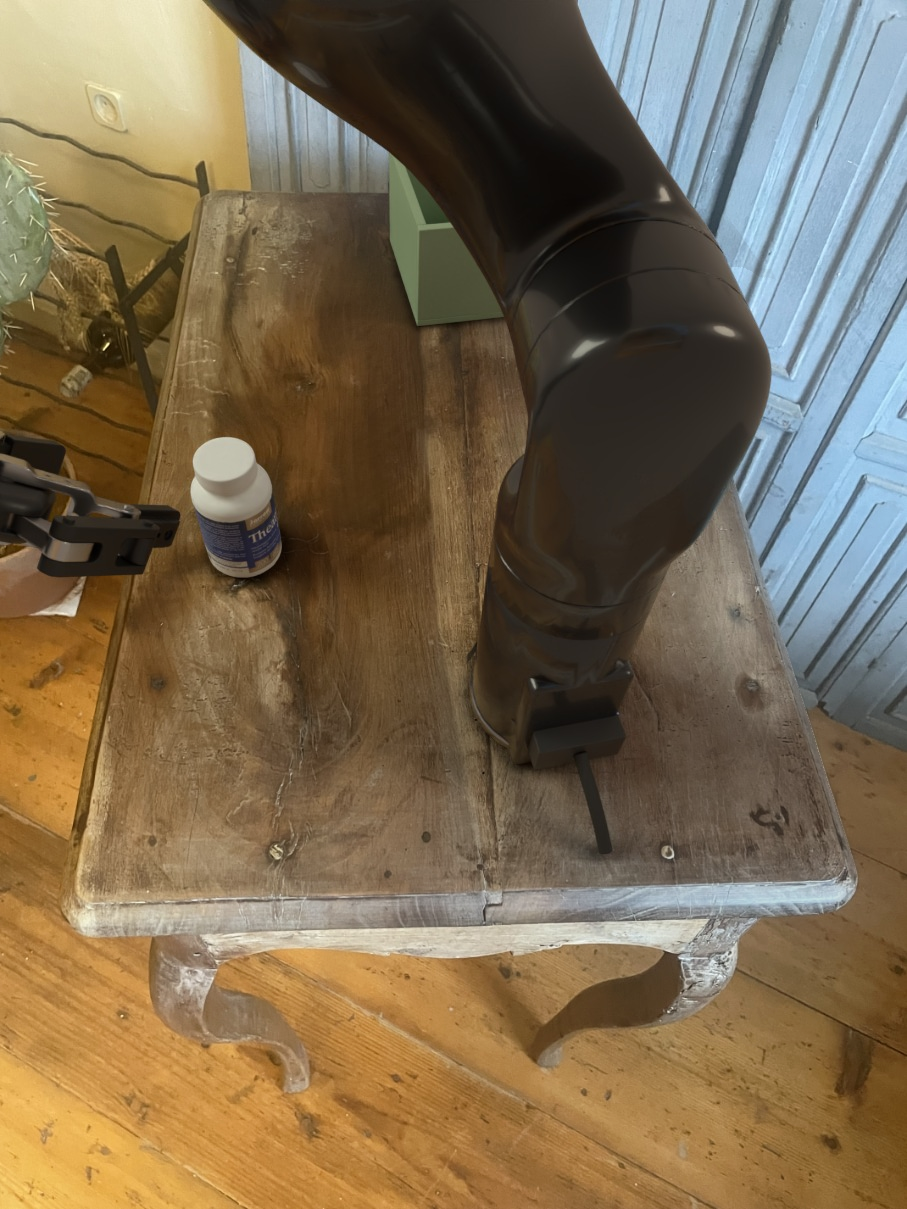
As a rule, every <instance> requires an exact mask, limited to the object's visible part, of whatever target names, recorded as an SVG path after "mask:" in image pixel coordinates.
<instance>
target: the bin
mask: <svg viewBox="0 0 907 1209" xmlns="http://www.w3.org/2000/svg"><path fill="white" fill-rule="evenodd" d="M388 175H389V176H388V177H389V178H388V184H389V186H388V188H389V189H388V190H389V192H388V194H389V195H388V196H389V197H388V198H389V242H390V245H391V248H392V252H393V254H394V258H395V260H396V265H397V266H398V267H397V268H398V271H399V274H400V276H401V279H402V283H403V286H404V289H405V292H406V295H407V298H408V301H409V304H410V308H411V311H412V313H413V317H414V320H415V323H416V324H415V325H416V326H417V327H423V326H432V325H433V326H434V325H443V324H451V323H452V324H453V323H460V322H469V321H478V320H480V321H481V320H488V319H498V318H504V315H503V313H502V311H501V308H500V306H499V304H498V302H497V300H496V298H495V296H494V294H493V292H492V290H491V288H490V287H489V285H488V283H487V281H486V279H485V277H484V276H483V274H482V272H481V271H480V269H479V267H478V266H477V264H476V262H475V260H474V259H473V257H472V255H471V254H470V252H469V251H468V249H467V247H466V246H465V244H464V243H463V241H462V240H461V238H460V236H459V235H458V233H457V232H456V230H455V229H454V227H453V226H452V224H451V223H450V222H449V220H448V219H447V217H446V216H445V214H444V213H443V211H442V210H441V208H440V207H439V206H438V204H437V203H436V202H435V200H434V199H433V198H432V196H431V195H430V194H429V193H428V191H427V190H426V189H425V187H424V186H423V185H422V184H421V183H420V182H419V181H418V180H417V178H416V177H415V176H414V175H413V174H412V173H411V172H410V171H409V170H408V169H407V168H406V167H405V166H404V165H403V164H402V163H401V162H399V161H398V160H397V159H396V158H395V157H394V156H393V155H392V154H391V153H389V152H388Z"/></svg>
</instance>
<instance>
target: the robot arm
mask: <svg viewBox="0 0 907 1209" xmlns="http://www.w3.org/2000/svg"><path fill="white" fill-rule="evenodd" d="M202 2H203V3H204V4H205V5H206V6H207V7H208V8H209V9H210V10H211V12H213V14H214V15H216V17H217V18H218V19H219V21H221V22H222V23H223V25H225V26H226V28H228V29H229V30H230V31H231V32H232V34H233V35H235V36H236V37H237V38H238V40H239V41H241V43H243V45H245V46H246V47H247V48H248V49H249V50H250V52H252V53H253V54H254V55H255V56H257V57H258V58H259V59H261V61H262V62H264V63H265V64H266V65H267V66H268V67H270V68H271V69H273V70H274V71H275V72H276V73H277V74H279V75H280V76H281V77H282V78H283V79H285V80H286V81H287V82H288V83H290V84H291V85H293V86H294V87H295V88H297V89H299V90H300V91H301V92H303V93H304V94H305V95H306V96H308V97H309V98H310V99H312V100H314V101H315V102H316V103H318V104H319V105H321V106H322V107H324V108H325V110H328V112H331V113H332V114H333V115H335V116H336V117H338V118H339V119H341V120H342V121H344V122H345V123H347V124H348V125H350V126H351V127H352V128H354V129H356V130H357V131H359V132H360V133H361V134H363V135H364V136H366V137H368V138H369V139H370V140H371V141H373V142H374V143H376V145H379V146H380V147H381V148H383V149H384V150H385V151H387V152H388V154H389V153H391V154H392V155H393V156H394V157H395V158H396V159H397V160H398V161H399V162H401V163H402V164H403V165H404V166H405V167H406V168H407V169H408V170H409V171H410V172H411V173H412V174H413V175H414V176H415V177H416V178H417V180H418V181H419V182H420V183H421V184H422V185H423V186H424V187H425V189H426V190H427V191H428V193H429V194H430V195H431V196H432V198H433V199H434V200H435V202H436V203H437V204H438V206H439V207H440V208H441V210H442V211H443V213H444V214H445V216H446V217H447V219H448V220H449V222H450V223H451V224H452V226H453V227H454V229H455V230H456V232H457V233H458V235H459V236H460V238H461V240H462V241H463V243H464V244H465V246H466V247H467V249H468V251H469V252H470V254H471V255H472V257H473V259H474V260H475V262H476V264H477V266H478V267H479V269H480V271H481V272H482V274H483V276H484V277H485V279H486V281H487V283H488V285H489V287H490V288H491V290H492V292H493V294H494V296H495V298H496V300H497V302H498V304H499V306H500V308H501V311H502V313H503V315H504V317H503V318H504V320H505V324H506V327H507V330H508V333H509V337H510V341H511V344H512V350H513V354H514V359H515V363H516V369H517V374H518V377H519V382H520V386H521V391H522V395H523V399H524V403H525V407H526V413H527V430H526V440H525V448H524V453H523V454H522V455H520V456H519V457H518V458H517V459H516V460H515V461H514V462H513V463H512V465H511V466H510V467H509V468H508V470H507V472H506V473H505V475H504V477H503V478H502V481H501V484H500V485H499V486H500V487H499V490H498V492H497V498H496V506H495V512H494V520H493V529H492V534H491V535H492V536H491V542H490V543H491V544H490V550H489V554H488V555H489V556H488V562H487V570H486V571H487V572H486V577H485V584H484V592H483V597H482V598H483V599H482V605H481V612H480V621H479V628H478V635H477V641H476V642H475V643H474V645H473V646H472V647H471V649H470V650H469V652H468V654H467V656H466V664H465V665H466V666H467V665H468V664H469V662H470V661H471V659H472V658H473V657H474V655H475V658H474V667H473V668H472V669H473V670H472V673H471V678H470V686H469V696H470V697H469V698H470V705H471V708H472V711H473V714H474V716H475V719H476V720H477V722H478V723H479V725H480V726H481V728H482V729H483V730H484V732H486V735H488V736H489V737H490V738H491V739H492V740H493V741H495V742H496V743H497V744H499V745H500V746H502V747H503V748H505V749H507V751H508V753H509V755H510V759H511V762H512V763H513V764H515V765H521V764H527V763H531V764H532V768H533V770H534V771H538V770H539V771H540V770H544V769H549V768H554V767H558V766H565V765H568V764H575V766H576V771H577V774H578V776H579V777H578V778H579V781H580V783H581V786H582V791H583V794H584V797H585V800H586V801H585V802H586V804H587V808H588V812H589V815H590V819H591V823H592V827H593V831H594V836H595V841H596V845H597V850H598V854H600V855H605V856H606V855H609V854H611V853H613V845H612V841H611V836H610V831H609V826H608V822H607V818H606V814H605V810H604V807H603V803H602V799H601V796H600V792H599V788H598V785H597V782H596V778H595V776H594V772H593V768H592V766H591V762H590V760H595V759H600V758H604V757H609V756H614V755H618V754H619V753H620V750H621V748H622V747H623V744H624V743H625V740H626V738H627V734H626V731H625V729H624V726H623V723H622V721H621V718H620V716H619V711H620V709H621V707H622V705H623V703H624V701H625V698H626V696H627V694H628V691H629V689H630V687H631V684H632V682H633V681H634V679H635V672H634V669H633V667H632V665H631V662H630V660H631V658H632V656H633V653H634V651H635V649H636V646H637V643H638V641H639V639H640V636H641V634H642V632H643V630H644V627H645V625H646V622H647V620H648V617H649V616H650V613H651V611H652V608H653V606H654V604H655V601H656V600H657V597H658V595H659V593H660V590H661V588H662V586H663V582H664V580H665V578H666V576H667V574H668V571H669V569H670V567H671V566H672V563H673V562H674V561H676V560H677V559H679V557H681V556H682V555H683V554H684V553H686V551H687V550H689V549H690V547H692V546H693V544H694V543H695V542H696V541H697V540H698V539H699V538H700V537H701V535H702V534H703V532H704V531H705V529H706V528H707V526H708V524H709V523H710V522H711V519H712V517H713V516H714V514H715V512H716V510H717V508H718V506H719V504H720V502H721V501H722V499H723V497H724V495H725V493H726V492H727V490H728V488H729V486H730V484H731V482H732V481H733V479H734V478H735V475H736V473H737V471H738V469H739V467H740V465H741V464H742V462H743V460H744V458H745V456H746V455H747V452H748V451H749V449H750V446H751V445H752V443H753V441H754V440H755V439H754V438H755V437H756V434H757V432H758V429H759V427H760V425H761V423H762V421H763V417H764V413H765V412H766V408H767V405H768V400H769V396H770V391H771V384H772V375H773V374H772V372H773V370H772V359H771V356H770V352H769V348H768V345H767V342H766V341H765V337H764V336H763V334H762V331H761V330H760V327H759V325H758V322H757V321H756V318H755V316H754V314H753V312H752V310H751V308H750V306H749V304H748V301H747V300H746V298H745V295H744V294H743V291H742V289H741V287H740V285H739V283H738V281H737V278H736V277H735V274H734V272H733V270H732V268H731V266H730V264H729V261H728V259H727V257H726V254H725V253H724V251H723V249H722V247H721V245H720V244H719V241H718V240H717V238H716V237H715V235H714V234H713V233H712V231H711V229H710V227H709V226H708V225H707V223H706V221H704V219H703V218H702V216H701V215H700V214H699V212H698V211H697V210H696V208H695V206H693V204H692V203H691V201H690V200H689V198H688V197H687V196H686V194H685V193H684V190H682V188H681V187H680V185H679V184H678V182H677V181H676V180H675V178H674V177H673V175H672V174H671V172H670V171H669V170H668V167H667V166H666V165H665V163H664V162H663V160H662V159H661V157H660V156H659V154H658V153H657V151H656V150H655V149H654V147H653V145H652V144H651V143H650V140H649V139H648V137H647V135H646V134H645V133H644V131H643V129H642V128H641V126H640V125H639V123H638V121H637V120H636V118H635V117H634V115H633V113H632V111H631V110H630V108H629V107H628V105H627V103H626V102H625V100H624V99H623V97H622V95H621V93H620V92H619V90H618V89H617V87H616V85H615V83H614V81H613V79H612V77H611V76H610V74H609V71H608V70H607V69H606V67H605V65H604V63H603V61H602V59H601V57H600V55H599V53H598V51H597V49H596V47H595V45H594V42H593V40H592V38H591V36H590V34H589V31H588V28H587V26H586V23H585V21H584V18H583V15H582V12H581V9H580V6H579V5H578V0H202ZM66 453H67V449H66V447H65V446H64V445H63V444H61V443H59V442H58V441H55V440H53V439H43V438H36V437H28V436H20V435H11V434H6V433H5V432H4V431H3V430H0V546H3V547H4V546H10V545H12V544H13V545H21V546H24V547H29V548H34V549H37V550H39V551H40V552H41V554H40V557H39V559H38V562H37V565H36V570H38V572H40V573H42V574H44V575H46V576H48V577H52V578H82V577H83V578H84V577H86V578H87V577H111V576H112V577H113V576H114V577H115V576H137V575H138V576H139V575H140V576H141V575H144V573H145V571H146V568H147V565H148V563H149V559H150V557H151V554H152V551H153V549H162V548H169V547H171V546H173V542H174V541H175V538H176V534H177V532H178V529H179V527H180V524H181V521H180V520H181V511H179V510H177V509H175V508H174V507H172V506H170V505H169V504H144V503H143V504H140V503H124V502H123V503H122V502H119V501H116V500H112V499H108V498H104V497H100V496H98V495H95V494H94V492H93V491H92V488H91V486H90V485H89V484H88V483H87V482H84V481H81V480H77V479H74V478H70V477H66V476H63V475H59V474H60V471H61V469H62V465H63V463H64V459H65V457H66ZM56 494H61V495H65V496H69V497H70V501H69V504H68V508H67V510H66V513H65V515H62V514H61V515H59V514H58V515H56V514H55V515H54V516H53V518H52V521H50V520H49V519H50V517H51V513H52V510H53V508H54V505H55V502H56V496H57V495H56ZM94 513H97V514H100V515H104V516H105V517H102V516H90V515H91V514H94ZM106 516H108V517H106Z"/></svg>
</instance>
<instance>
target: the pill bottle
mask: <svg viewBox="0 0 907 1209" xmlns="http://www.w3.org/2000/svg"><path fill="white" fill-rule="evenodd" d="M192 466H193V470H194V476H193V479H192V481H191V485H190V498H191V502H192V506H193V509H194V513H195V515H196V516H195V517H196V520H197V523H198V526H199V529H200V532H201V535H202V540H203V542H204V546H205V549H206V552H207V556H208V558H209V560H210V563H211V564H212V566H213V567H214V568H215V569H216V570H218V571H219V572H221V573H222V574H224V575H226V576H230V577H233V578H252V577H256V576H258V575H261V574H263V573H265V572H266V571H268V570H269V569H271V568H272V567H274V565H275V564H276V563H277V561H278V560H279V558H280V556H281V553H282V548H283V547H282V546H283V545H282V536H281V531H280V525H279V518H278V514H277V508H276V503H275V496H274V491H273V490H274V489H273V484H272V481H271V478H270V476H269V474H268V472H267V470H266V469H265V468H263V466H261V465H260V464H259V463H258V462H257V459H256V454H255V451H254V449H253V448H252V446H251V445H250V444H249V443H248V442H246V441H244V440H242V439H240V438H237V437H230V436H223V437H222V436H221V437H216V438H212V439H209V440H207V441H205V442H204V443H203V444H202V445H200V446H199V447H198V448H197V450H196V451H195V452H194V454H193V458H192Z"/></svg>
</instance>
